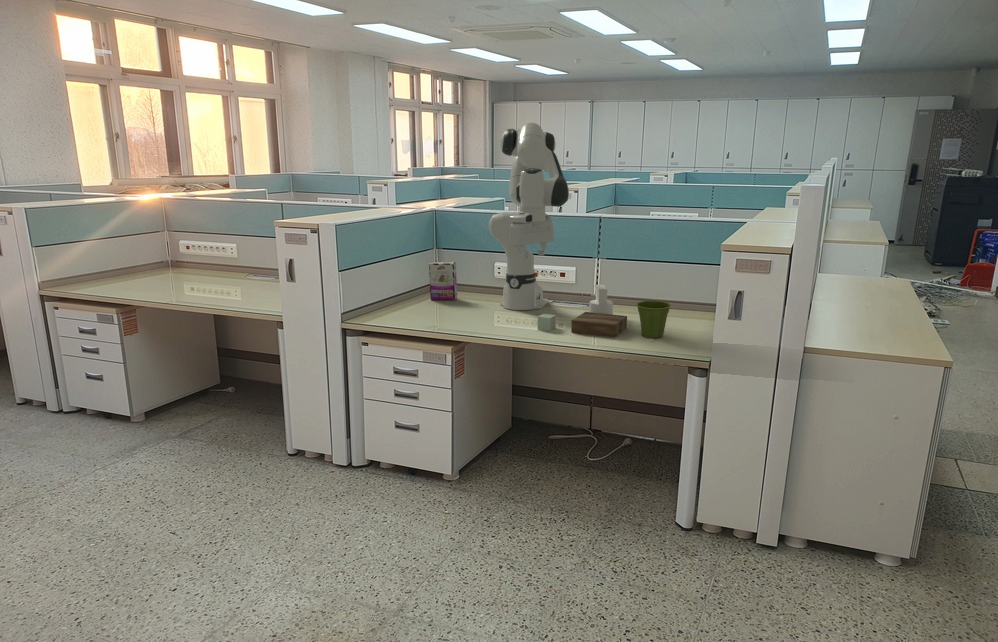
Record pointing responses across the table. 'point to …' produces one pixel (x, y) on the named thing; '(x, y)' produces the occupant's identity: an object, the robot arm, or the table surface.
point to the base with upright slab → (601, 302)
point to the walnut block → (599, 324)
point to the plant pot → (653, 317)
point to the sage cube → (546, 322)
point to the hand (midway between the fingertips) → (533, 256)
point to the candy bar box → (443, 281)
